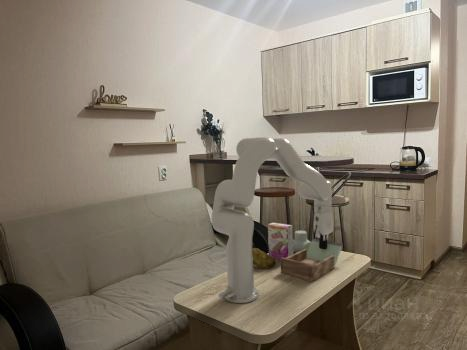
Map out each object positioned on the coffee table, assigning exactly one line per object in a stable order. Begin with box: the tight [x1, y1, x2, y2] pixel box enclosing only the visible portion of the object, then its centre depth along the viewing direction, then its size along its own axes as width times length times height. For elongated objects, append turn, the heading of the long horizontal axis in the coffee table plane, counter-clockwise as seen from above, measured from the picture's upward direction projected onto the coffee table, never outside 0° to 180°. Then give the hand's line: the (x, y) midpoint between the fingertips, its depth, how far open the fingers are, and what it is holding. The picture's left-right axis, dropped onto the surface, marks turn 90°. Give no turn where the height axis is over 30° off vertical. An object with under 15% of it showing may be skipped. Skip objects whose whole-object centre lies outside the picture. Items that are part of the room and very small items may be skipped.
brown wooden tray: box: [279, 249, 335, 283], centre depth 147 cm, size 18×15×6 cm
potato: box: [252, 247, 276, 269], centre depth 154 cm, size 8×13×8 cm, turn 50°
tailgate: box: [307, 238, 343, 266], centre depth 156 cm, size 1×15×10 cm
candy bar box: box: [267, 222, 294, 261], centre depth 162 cm, size 11×5×16 cm, turn 50°
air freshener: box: [293, 230, 312, 253], centre depth 171 cm, size 11×8×10 cm
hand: (323, 248), depth 155 cm, fingers closed
